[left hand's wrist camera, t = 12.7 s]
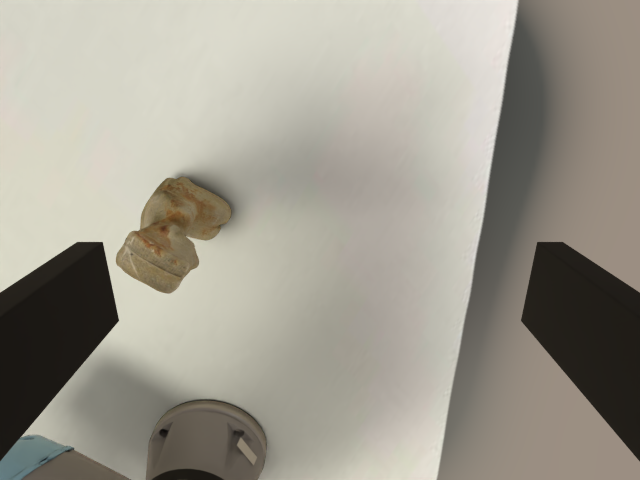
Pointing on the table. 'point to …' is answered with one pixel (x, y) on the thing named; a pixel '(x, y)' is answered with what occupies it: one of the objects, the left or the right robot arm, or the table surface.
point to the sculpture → (171, 233)
